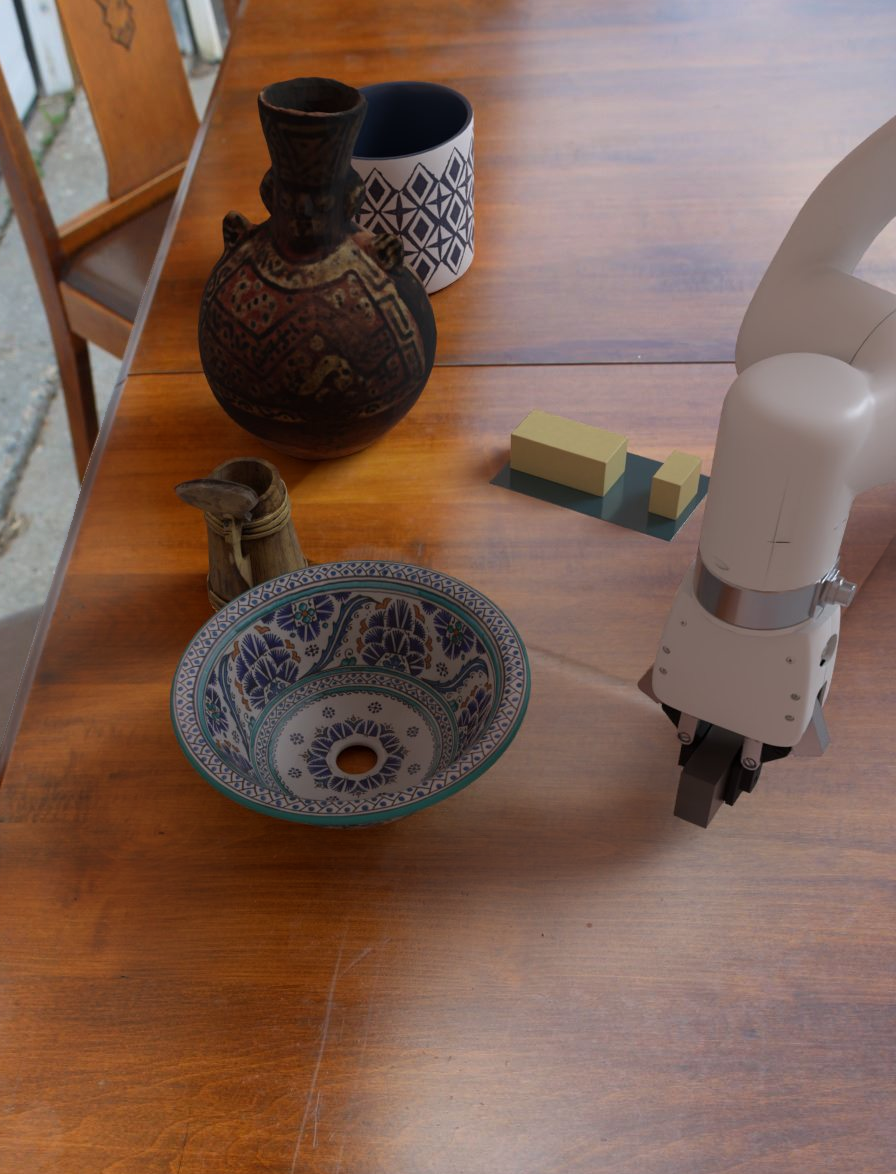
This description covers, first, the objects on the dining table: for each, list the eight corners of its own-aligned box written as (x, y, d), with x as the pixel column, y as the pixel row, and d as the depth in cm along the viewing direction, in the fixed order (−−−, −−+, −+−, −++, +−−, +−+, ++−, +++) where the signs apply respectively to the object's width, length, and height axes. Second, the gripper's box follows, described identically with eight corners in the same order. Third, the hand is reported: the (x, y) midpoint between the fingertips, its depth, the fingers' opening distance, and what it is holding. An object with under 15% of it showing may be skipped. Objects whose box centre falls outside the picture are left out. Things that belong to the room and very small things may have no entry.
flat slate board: (489, 492, 116) (489, 482, 115) (540, 435, 120) (540, 425, 119) (669, 551, 109) (670, 541, 108) (716, 488, 113) (718, 479, 112)
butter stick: (509, 468, 116) (510, 433, 113) (532, 442, 118) (533, 408, 115) (603, 497, 112) (605, 463, 110) (625, 471, 114) (628, 436, 111)
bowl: (189, 674, 107) (166, 583, 100) (498, 633, 106) (499, 537, 98) (197, 927, 92) (171, 843, 85) (556, 882, 91) (562, 792, 84)
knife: (705, 829, 89) (715, 786, 85) (672, 815, 90) (680, 771, 86) (815, 661, 97) (828, 615, 93) (783, 650, 98) (794, 604, 94)
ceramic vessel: (188, 483, 122) (115, 144, 98) (251, 372, 131) (198, 37, 107) (409, 509, 116) (390, 156, 92) (459, 391, 125) (453, 41, 101)
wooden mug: (185, 663, 108) (138, 479, 93) (221, 553, 116) (183, 366, 101) (292, 669, 106) (261, 482, 92) (321, 556, 114) (297, 367, 99)
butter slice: (647, 511, 111) (652, 476, 108) (669, 484, 112) (674, 449, 110) (675, 520, 110) (680, 485, 107) (697, 493, 111) (702, 457, 109)
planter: (386, 323, 133) (377, 177, 122) (293, 265, 141) (276, 124, 130) (506, 259, 137) (508, 113, 126) (409, 207, 146) (402, 65, 134)
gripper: (926, 579, 75) (852, 791, 89) (662, 496, 81) (633, 706, 96) (875, 661, 71) (806, 867, 86) (604, 568, 78) (583, 774, 93)
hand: (715, 780), depth 91 cm, fingers closed on knife, 2 cm apart
